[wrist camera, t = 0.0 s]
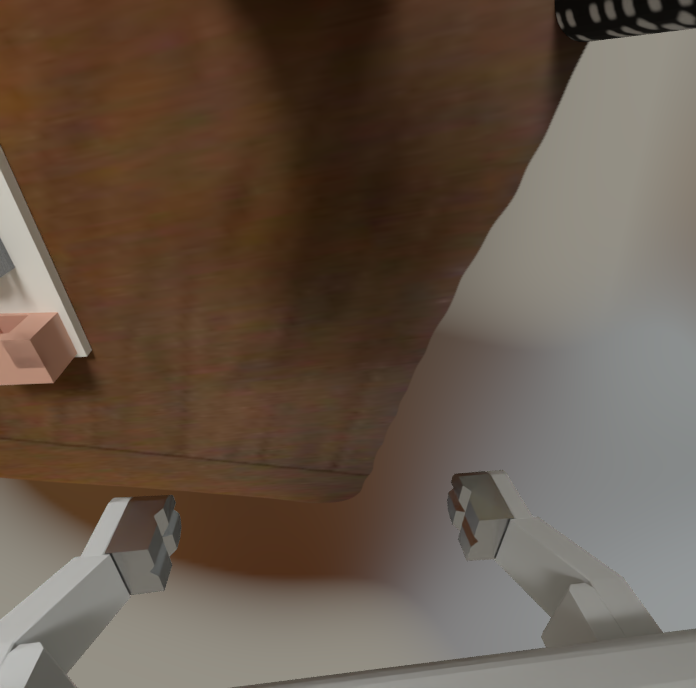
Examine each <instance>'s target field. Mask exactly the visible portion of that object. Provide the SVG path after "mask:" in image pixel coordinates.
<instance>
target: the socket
mask: <svg viewBox="0 0 696 688" xmlns="http://www.w3.org/2000/svg"><path fill="white" fill-rule="evenodd" d="M76 355H77V351H76V349H75V347H74V345H73V343H72V341H71V339H70V337H69V335H68V333H67V331H66V328H65V326H64V324H63V322H62V320H61V318H60V316H59V314H58V312H46V313H0V385H16V384H41V383H54V382H55V381H56V380H57V378H58V377H59V376H60V375H61V373H62V372H63V371H64V370H65V368H66V367H67V366H68V365H69V363H70V362H71V361H72V360H73V358H74V357H75V356H76Z"/></svg>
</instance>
